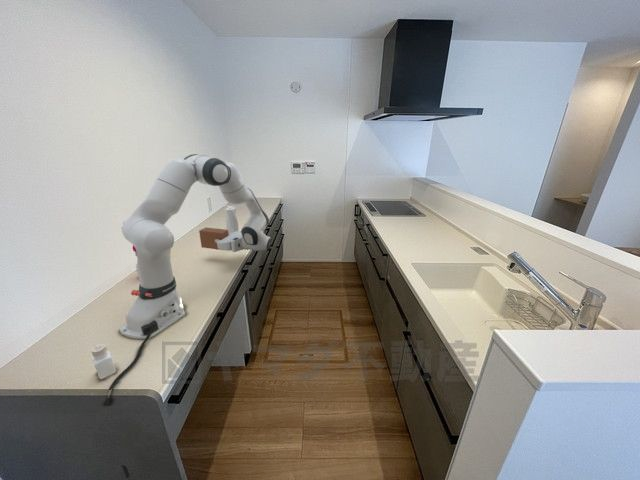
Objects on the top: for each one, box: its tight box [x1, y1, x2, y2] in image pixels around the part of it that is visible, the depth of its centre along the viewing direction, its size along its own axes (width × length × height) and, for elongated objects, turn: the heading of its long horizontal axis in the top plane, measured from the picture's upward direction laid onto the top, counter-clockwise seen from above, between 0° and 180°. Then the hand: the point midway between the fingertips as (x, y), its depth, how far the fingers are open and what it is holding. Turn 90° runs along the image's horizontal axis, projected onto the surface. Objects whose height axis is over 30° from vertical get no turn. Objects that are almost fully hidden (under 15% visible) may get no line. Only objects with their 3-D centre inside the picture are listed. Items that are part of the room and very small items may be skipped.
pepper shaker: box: [90, 343, 117, 380], centre depth 77 cm, size 4×4×10 cm
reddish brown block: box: [198, 227, 229, 251], centre depth 146 cm, size 6×15×10 cm, turn 77°
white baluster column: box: [222, 205, 239, 234], centre depth 166 cm, size 8×8×28 cm
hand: (219, 238), depth 145 cm, fingers closed on reddish brown block, 6 cm apart
